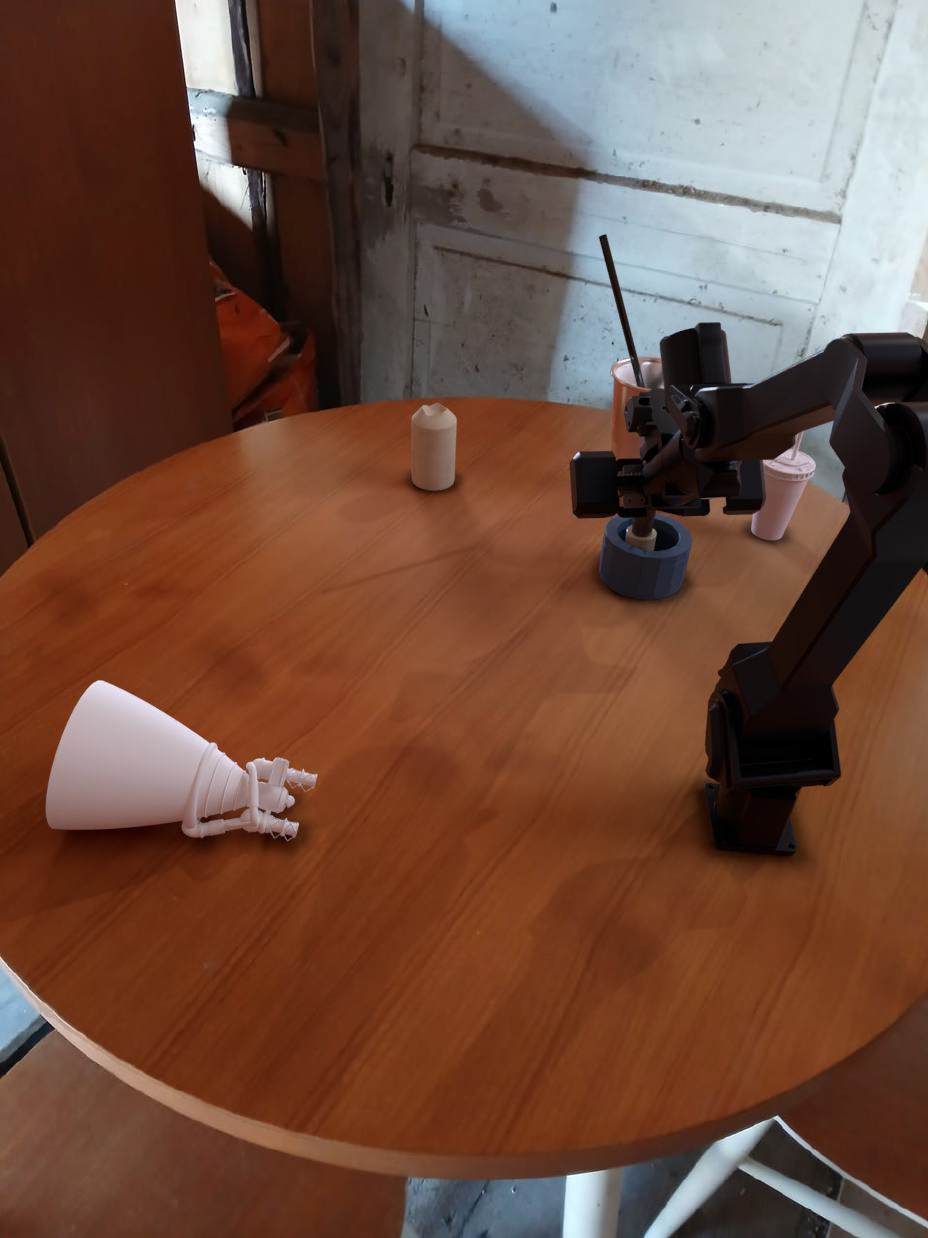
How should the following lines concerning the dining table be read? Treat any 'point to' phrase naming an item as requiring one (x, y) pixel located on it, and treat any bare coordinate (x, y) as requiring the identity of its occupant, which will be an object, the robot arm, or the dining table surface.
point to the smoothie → (782, 491)
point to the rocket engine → (157, 773)
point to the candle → (433, 447)
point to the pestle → (642, 531)
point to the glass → (627, 373)
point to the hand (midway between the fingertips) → (642, 504)
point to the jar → (645, 559)
